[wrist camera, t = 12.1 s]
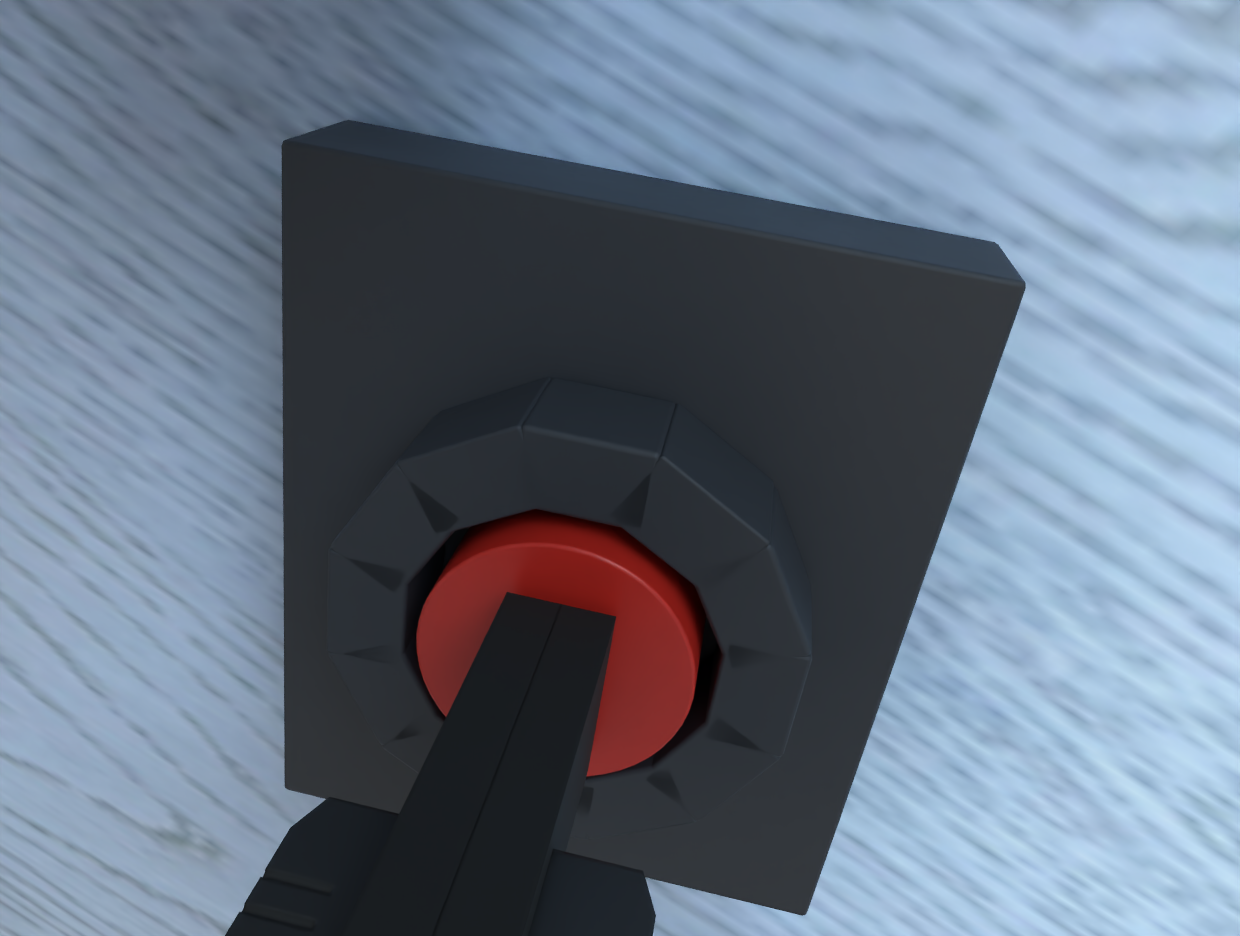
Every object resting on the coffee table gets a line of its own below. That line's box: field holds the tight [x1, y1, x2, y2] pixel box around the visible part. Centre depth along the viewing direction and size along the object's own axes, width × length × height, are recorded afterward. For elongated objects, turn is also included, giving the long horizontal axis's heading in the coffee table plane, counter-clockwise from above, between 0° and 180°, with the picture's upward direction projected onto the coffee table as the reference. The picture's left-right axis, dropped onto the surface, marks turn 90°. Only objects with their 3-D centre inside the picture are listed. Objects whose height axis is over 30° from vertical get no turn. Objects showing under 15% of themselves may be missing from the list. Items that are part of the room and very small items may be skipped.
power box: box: [282, 120, 1026, 915], centre depth 16 cm, size 12×10×4 cm
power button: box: [416, 509, 706, 776], centre depth 15 cm, size 4×4×2 cm
